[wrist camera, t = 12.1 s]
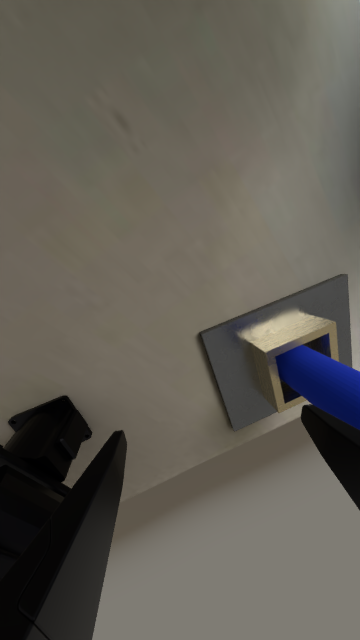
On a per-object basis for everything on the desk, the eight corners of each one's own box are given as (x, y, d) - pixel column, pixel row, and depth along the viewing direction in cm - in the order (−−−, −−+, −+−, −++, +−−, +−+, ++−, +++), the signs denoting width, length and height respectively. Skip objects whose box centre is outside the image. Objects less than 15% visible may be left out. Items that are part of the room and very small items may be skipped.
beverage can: (296, 375, 26) (488, 507, 11) (264, 375, 24) (432, 521, 10) (307, 341, 24) (537, 441, 10) (273, 339, 23) (478, 449, 9)
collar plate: (231, 427, 27) (245, 451, 23) (199, 332, 22) (210, 344, 18) (347, 373, 28) (376, 388, 25) (340, 274, 24) (376, 274, 20)
